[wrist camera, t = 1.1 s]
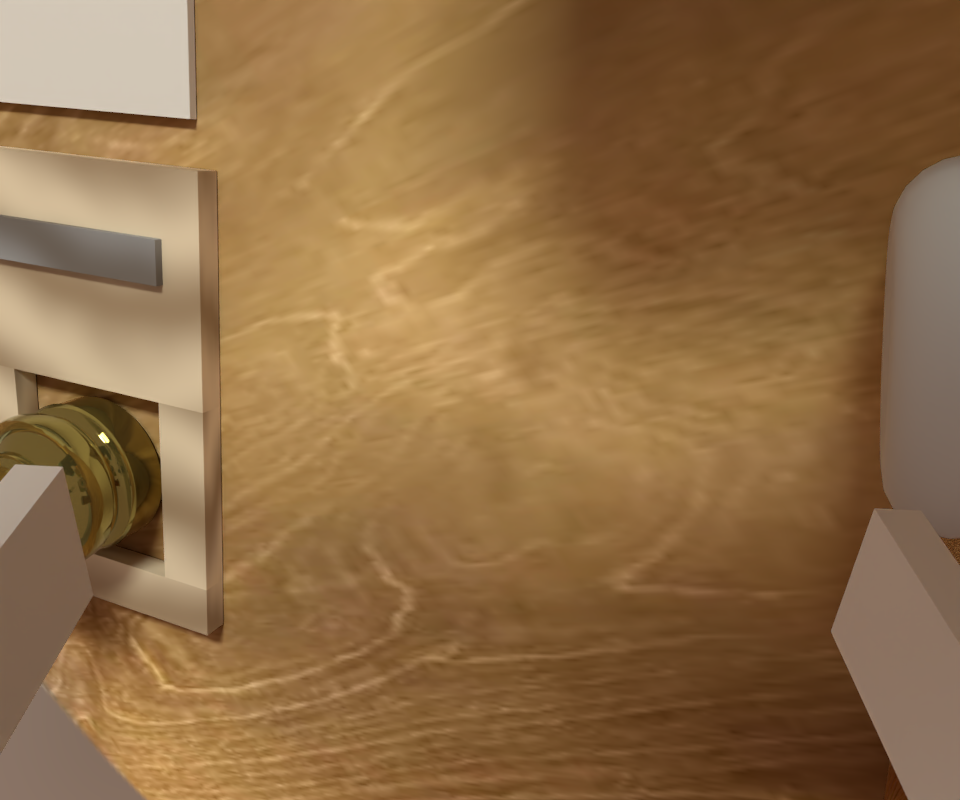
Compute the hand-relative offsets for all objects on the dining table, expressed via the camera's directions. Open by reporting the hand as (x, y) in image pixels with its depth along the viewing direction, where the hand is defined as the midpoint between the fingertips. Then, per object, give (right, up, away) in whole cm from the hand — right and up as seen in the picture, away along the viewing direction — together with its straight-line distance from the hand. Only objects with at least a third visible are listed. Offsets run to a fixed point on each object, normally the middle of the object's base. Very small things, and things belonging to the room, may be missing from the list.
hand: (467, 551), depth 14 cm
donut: (+15, +5, +13) cm, 20 cm away
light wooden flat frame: (-18, +3, +28) cm, 33 cm away
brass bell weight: (-18, -1, +29) cm, 34 cm away
